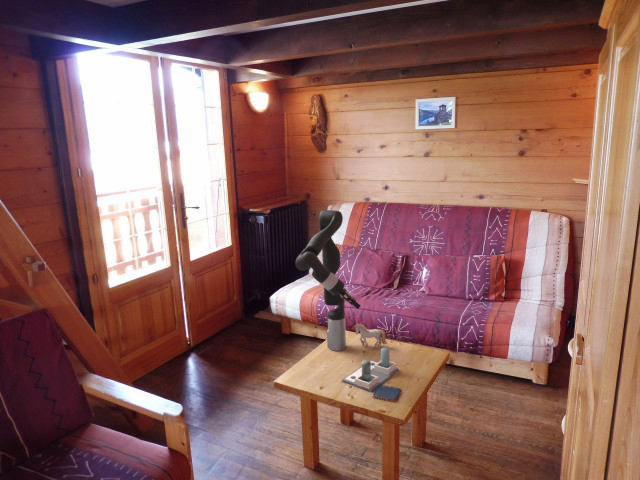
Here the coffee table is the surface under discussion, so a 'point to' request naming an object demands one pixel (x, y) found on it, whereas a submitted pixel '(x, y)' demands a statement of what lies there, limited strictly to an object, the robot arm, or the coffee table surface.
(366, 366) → the teal peg
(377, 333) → the unicorn figurine
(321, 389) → the coffee table surface
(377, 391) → the woven mat
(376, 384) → the peg board
